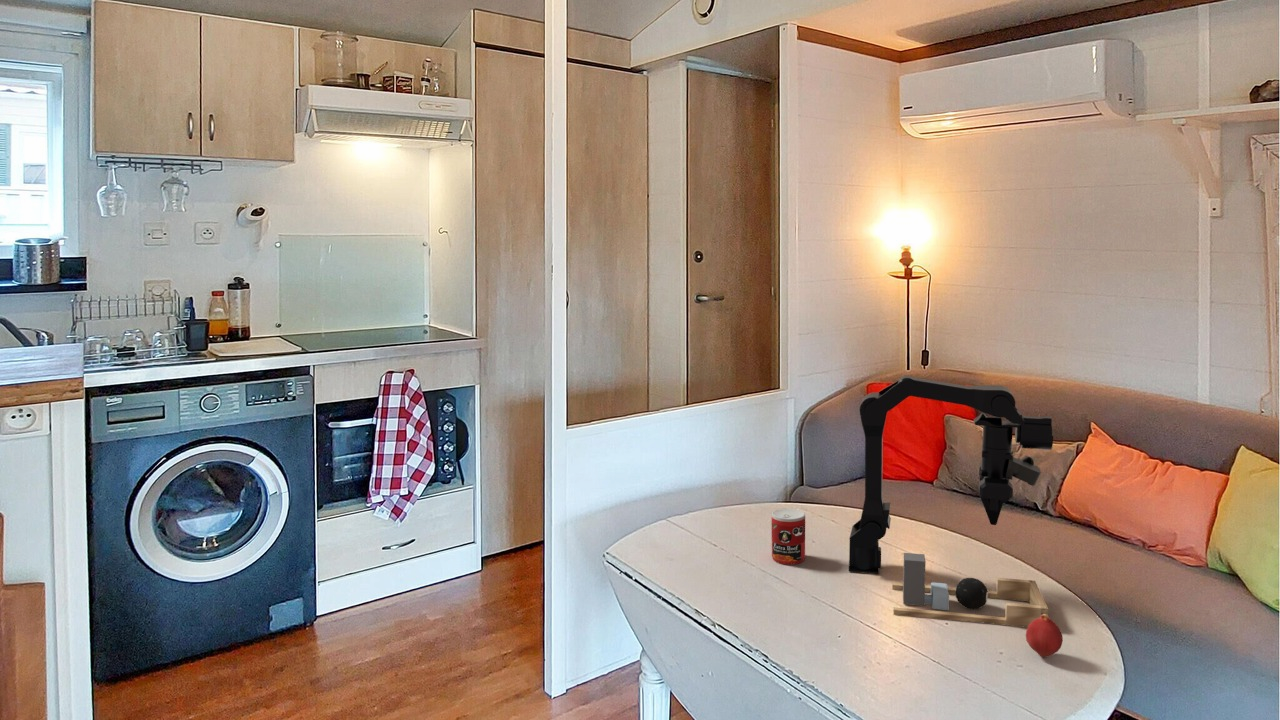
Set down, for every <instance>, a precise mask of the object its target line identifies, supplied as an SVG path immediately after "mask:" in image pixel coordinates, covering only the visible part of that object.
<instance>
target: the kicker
mask: <svg viewBox="0 0 1280 720" xmlns="http://www.w3.org/2000/svg"><path fill="white" fill-rule="evenodd" d="M902 568H903V573H902V574H903V576H902V579H903V580H902V582H903V583H902V584H903V590H902V602H903V605H911V606H921V607H923V606H924V607H925V605H931V608H932V609H933V610H942V611H949V609H950V608H949V605H950V594H949V593H948V588H947V587H948V584H947V583H942V582H930V586H931V593H930V594H929V593H928V594H927V593H926V592H925V585H926V556H925V554H923V553H914V552H913V553H912V552H910V553H909V552H903V567H902Z"/></svg>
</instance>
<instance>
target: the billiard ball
mask: <svg viewBox="0 0 1280 720" xmlns="http://www.w3.org/2000/svg"><path fill="white" fill-rule="evenodd" d="M955 588H956V595H955V597H956V600H957V602H958V603H959V604H960V605H961V606H962V607H964V608H966V609H969V610H978V609H981V608H983V607H984V606H986V604H987V602H988V599H989V598H988V591H989V590H988V588H987V586H986V584H985V583H984V582H983V581H981V580H980V579H978V578H975V577H965V578H963V579H961V580H959V581H958V583H957V584H956V587H955Z"/></svg>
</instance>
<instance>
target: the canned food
mask: <svg viewBox="0 0 1280 720" xmlns="http://www.w3.org/2000/svg"><path fill="white" fill-rule="evenodd" d="M771 557H772V561H774V562H775V561H776V563H778V564H781V565H787V564H788V565H789V566H790V565H791V564H793V565H797V564H801V563H802V562H804V560H805V558H806V513H805V512H804V511H803V510H801V509H797V508H789V507H787V508H784V507H783V508H778V509H775V510H773V511H772V513H771ZM791 566H792V565H791Z"/></svg>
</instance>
